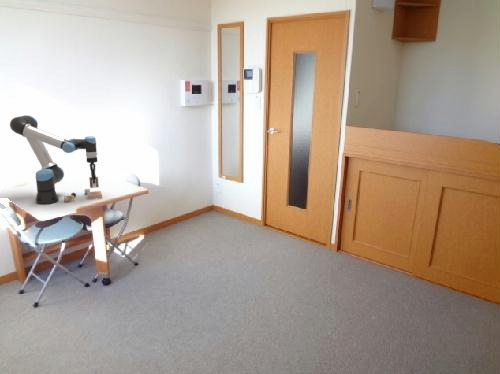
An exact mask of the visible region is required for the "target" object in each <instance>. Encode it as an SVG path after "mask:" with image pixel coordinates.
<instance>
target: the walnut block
mask: <svg viewBox="0 0 500 374" xmlns="http://www.w3.org/2000/svg"><path fill="white" fill-rule="evenodd" d="M88 178H89V179H88V180H89V189H93V187H92V180H91V179H92V177H90V176H89V177H88ZM94 178H95V177H94ZM95 188H99V177H98V176H96V187H94V189H95Z"/></svg>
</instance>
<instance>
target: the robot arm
mask: <svg viewBox="0 0 500 374" xmlns="http://www.w3.org/2000/svg"><path fill="white" fill-rule="evenodd" d="M38 125H39V124H38V121H37V119H36V118H35V117H33V116H32V115H21V116H16V117H13V118H11V120H10V123H9V128H10V130H11V131H12V132H13V133H15V134H17V135H20V136H22V137H23V138H26V140H27V142H28V144H29V146H30V148H31V150H32V151H33V153H34V155H35V156H36V158H37V161H38V162H39V164H40V166H41V169H38V170H37V171H36V172H35V183H36V191H37V193H36V197H35V203H36V204H38V205H51V204H55V203H58V202H59V201H60V199H59V196H58V194H57V191H56V187H55V185H56V184H57V183H59V182H61V181H62V180H63V179H64V177H65V171H64V169H62V167H60V166H58V164H57V162H56V163H55V162H54V160H53V159H52V157H51V155H50V153H49V151H48V149H47V147H46V146H45V144H47V145H50V146H52V147H55V148H58V149H60V150H62V151H63V152H64V153H66V154H72V153H74V152H75V151H79V150H85V156H86V162H87V163H89V169H90V176H91V177H92V179H91V180H92V187H93V188H94V187H96V177H97V176H96V163H97V162H98V157H97V156H98V152H97V151H98V150H97V140H96V137H95V136H85V137H84V139H83V138H79V139H78V138H69V139H66V138H63V137H60V136H57V135H55V134H53V133H50V132H47V131H44V130H42V129H41V128H38ZM44 143H45V144H44ZM94 177H95V178H94ZM93 188H92V189H93ZM96 188H97V187H96ZM94 189H95V188H94Z"/></svg>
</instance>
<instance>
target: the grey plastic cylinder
mask: <svg viewBox="0 0 500 374" xmlns="http://www.w3.org/2000/svg"><path fill="white" fill-rule="evenodd" d="M83 191H84V196H88V194H87V192H91V188H85V189H84V190H83Z"/></svg>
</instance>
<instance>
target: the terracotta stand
mask: <svg viewBox="0 0 500 374" xmlns="http://www.w3.org/2000/svg"><path fill="white" fill-rule="evenodd" d="M87 194H88V195H87V200H94V199H95V200H97V199H96V198H98V199H103V194H102V191H101V190H97V191H90V192H87Z"/></svg>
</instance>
